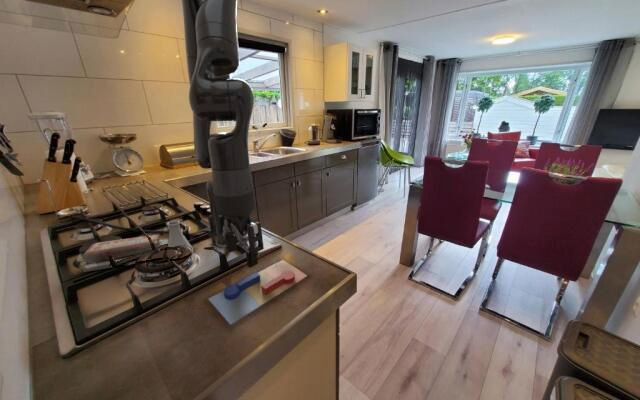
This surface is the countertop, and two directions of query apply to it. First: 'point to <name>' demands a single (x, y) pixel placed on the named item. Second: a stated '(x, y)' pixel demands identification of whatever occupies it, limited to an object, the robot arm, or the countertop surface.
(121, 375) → the countertop surface
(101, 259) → the packaged product
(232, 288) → the blue spoon
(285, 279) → the red spoon
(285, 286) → the sorting mat
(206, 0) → the robot arm
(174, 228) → the flask
